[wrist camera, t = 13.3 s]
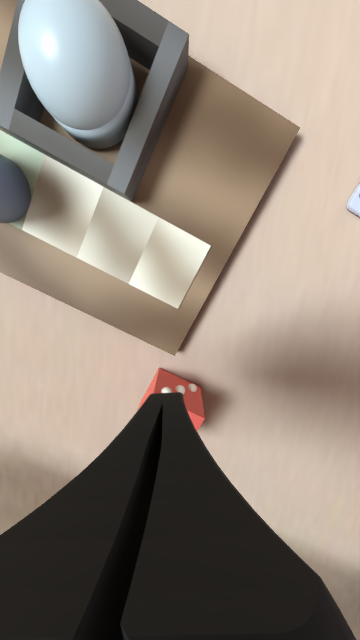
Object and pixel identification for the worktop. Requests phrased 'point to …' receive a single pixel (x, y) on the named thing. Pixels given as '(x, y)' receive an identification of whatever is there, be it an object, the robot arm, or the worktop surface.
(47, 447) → the worktop surface
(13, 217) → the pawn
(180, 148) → the game board
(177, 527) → the robot arm
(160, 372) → the red die
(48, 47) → the dome button
